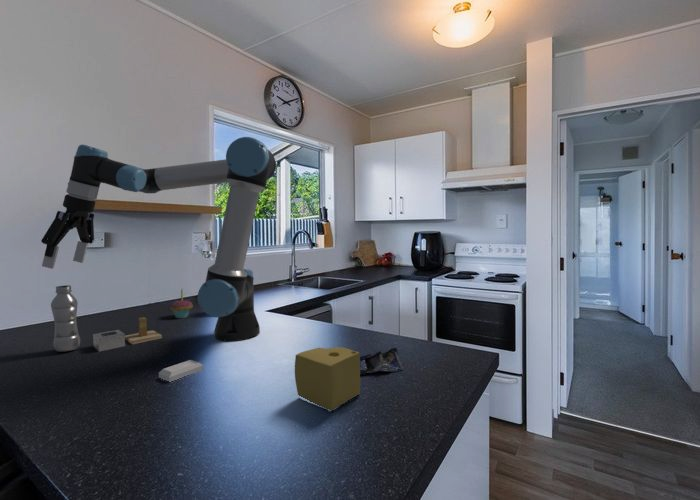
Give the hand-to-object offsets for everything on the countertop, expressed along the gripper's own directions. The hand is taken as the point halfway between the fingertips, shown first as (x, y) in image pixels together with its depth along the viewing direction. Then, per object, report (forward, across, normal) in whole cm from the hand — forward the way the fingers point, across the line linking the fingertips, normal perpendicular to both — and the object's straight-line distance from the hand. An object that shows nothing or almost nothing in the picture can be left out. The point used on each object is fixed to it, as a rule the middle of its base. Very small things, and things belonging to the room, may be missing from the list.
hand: (63, 264), depth 109 cm
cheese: (+2, +42, +82) cm, 93 cm away
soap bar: (+13, +25, +48) cm, 55 cm away
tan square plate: (+20, -9, +25) cm, 33 cm away
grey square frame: (+22, -2, +18) cm, 29 cm away
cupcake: (+21, -38, +28) cm, 51 cm away
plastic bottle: (+26, +1, +8) cm, 27 cm away
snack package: (-2, +29, +95) cm, 99 cm away
